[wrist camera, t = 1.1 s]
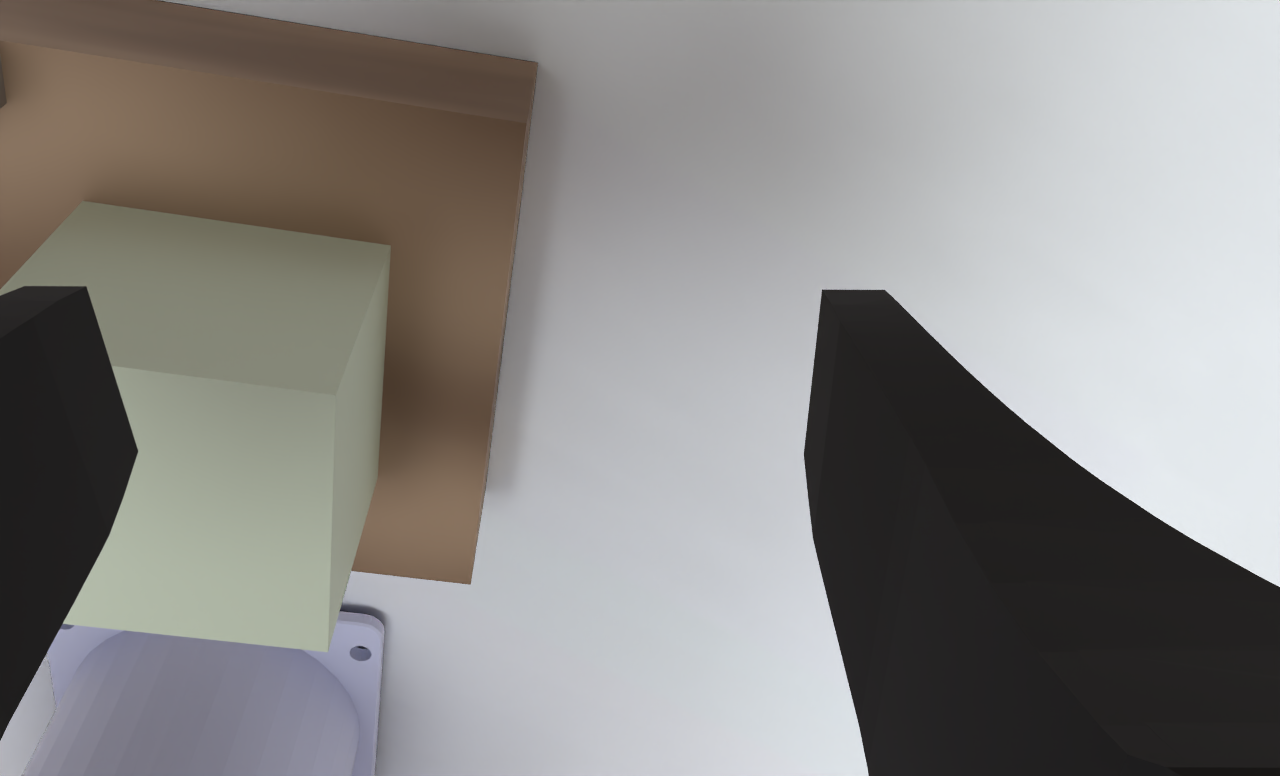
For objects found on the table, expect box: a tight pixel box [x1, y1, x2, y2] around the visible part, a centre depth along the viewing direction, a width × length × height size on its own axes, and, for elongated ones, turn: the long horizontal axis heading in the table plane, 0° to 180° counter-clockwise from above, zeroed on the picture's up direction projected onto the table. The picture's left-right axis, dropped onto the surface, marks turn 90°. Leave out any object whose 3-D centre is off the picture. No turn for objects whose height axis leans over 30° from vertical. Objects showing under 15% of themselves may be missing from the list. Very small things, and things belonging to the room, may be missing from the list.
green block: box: [0, 201, 391, 652], centre depth 19 cm, size 5×5×4 cm
